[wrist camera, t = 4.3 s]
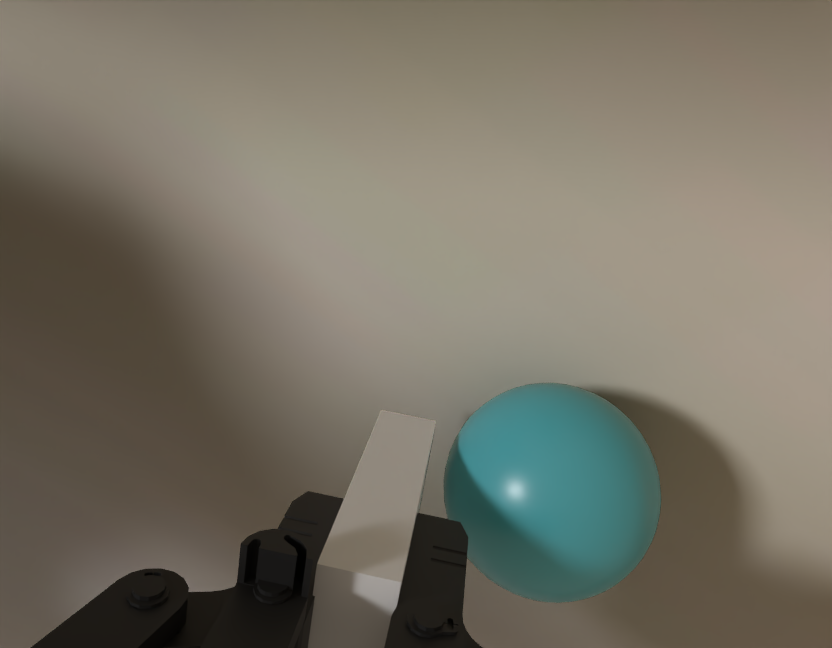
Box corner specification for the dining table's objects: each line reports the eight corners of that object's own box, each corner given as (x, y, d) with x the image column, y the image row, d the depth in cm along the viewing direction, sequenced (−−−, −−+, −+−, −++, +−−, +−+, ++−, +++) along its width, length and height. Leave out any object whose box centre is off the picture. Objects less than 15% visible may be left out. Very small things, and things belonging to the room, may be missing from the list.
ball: (484, 539, 22) (483, 676, 16) (422, 386, 20) (400, 482, 15) (657, 493, 21) (716, 624, 15) (605, 328, 19) (648, 409, 14)
